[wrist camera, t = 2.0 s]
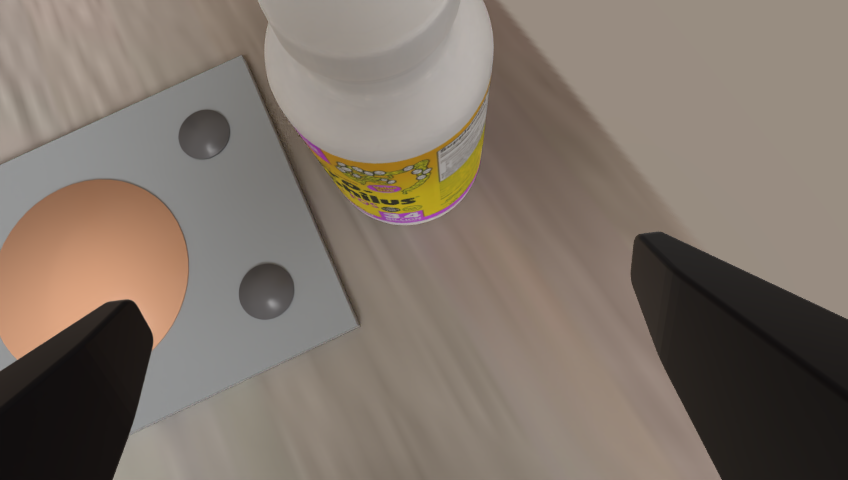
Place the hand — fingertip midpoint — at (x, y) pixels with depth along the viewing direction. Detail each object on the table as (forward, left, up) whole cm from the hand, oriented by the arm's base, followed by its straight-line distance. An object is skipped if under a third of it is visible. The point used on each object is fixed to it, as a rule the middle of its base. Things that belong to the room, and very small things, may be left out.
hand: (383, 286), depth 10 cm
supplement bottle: (+2, +7, -14) cm, 16 cm away
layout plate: (-11, +8, -13) cm, 19 cm away
